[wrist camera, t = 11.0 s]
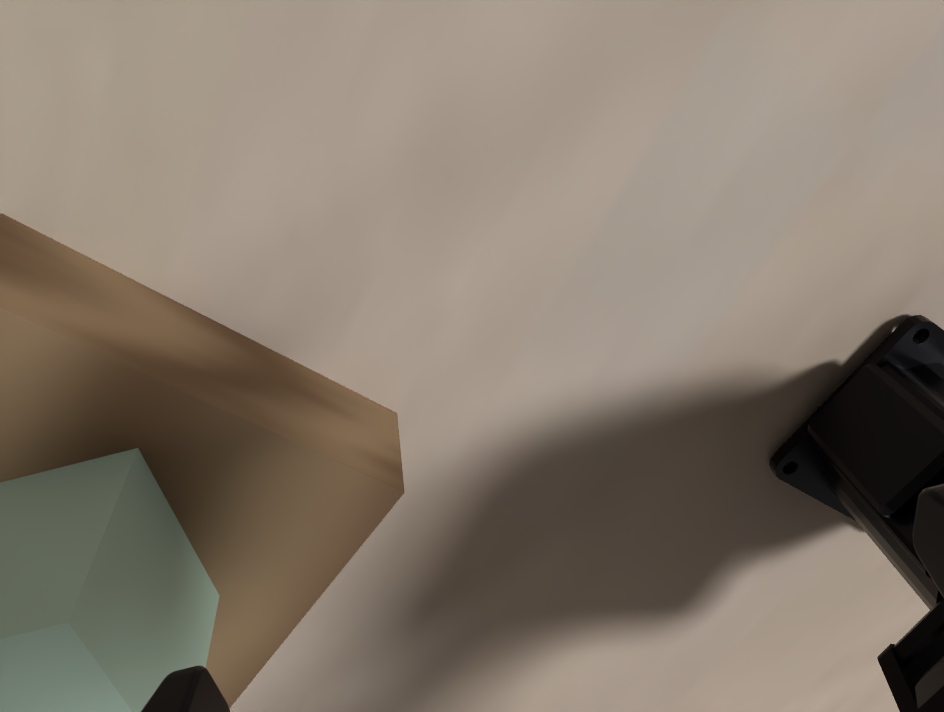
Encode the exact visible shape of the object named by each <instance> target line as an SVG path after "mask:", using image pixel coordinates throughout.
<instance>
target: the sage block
mask: <svg viewBox="0 0 944 712" xmlns="http://www.w3.org/2000/svg"><path fill="white" fill-rule="evenodd" d="M218 601H219V594H218V592H217V590H216V588H215V587H214V585H213V583H212V581H211V579H210V577H209V576H208V574H207V572H206V570H205V568H204V567H203V565H202V563H201V561H200V559H199V558H198V556H197V554H196V552H195V550H194V548H193V547H192V545H191V543H190V541H189V539H188V538H187V536H186V534H185V532H184V530H183V529H182V527H181V525H180V523H179V521H178V519H177V518H176V516H175V514H174V512H173V510H172V509H171V507H170V505H169V503H168V501H167V500H166V498H165V496H164V494H163V492H162V490H161V489H160V487H159V485H158V483H157V481H156V480H155V478H154V476H153V474H152V472H151V471H150V469H149V467H148V465H147V463H146V461H145V460H144V458H143V456H142V454H141V452H140V451H139V449H138V448H136V449H132V450H128V451H124V452H120V453H116V454H112V455H108V456H104V457H100V458H96V459H92V460H88V461H84V462H80V463H76V464H72V465H68V466H64V467H60V468H56V469H52V470H48V471H44V472H40V473H36V474H32V475H28V476H24V477H20V478H16V479H12V480H8V481H4V482H0V712H141V711H142V709H143V708H144V706H145V705H146V703H147V702H148V701H149V699H150V698H151V696H152V695H153V694H154V692H155V691H156V689H157V688H158V686H159V685H160V684H161V682H162V681H163V680H164V678H165V677H166V676H167V675H168V674H170V673H171V672H174V671H177V670H181V669H185V668H189V667H193V666H203V667H205V668H206V663H207V658H208V653H209V648H210V642H211V637H212V632H213V627H214V622H215V617H216V611H217V606H218Z"/></svg>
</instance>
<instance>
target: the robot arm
mask: <svg viewBox="0 0 944 712" xmlns="http://www.w3.org/2000/svg"><path fill="white" fill-rule="evenodd" d="M919 330H920V331H919ZM917 331H919V333H918V334H917V335H915V336H914V334H915V333H916V332H917ZM913 336H914V337H913ZM788 462H790V463H789V464H788V465H786V464H787V463H788ZM785 465H786V466H785ZM770 468H771V469H772V471H773V472H774V473H775V475H776V476H777V477H778V478H779V479H781V480H782V481H784V482H786V483H788V484H790V485H792V486H793V487H795V488H797V489H799V490H801V491H802V492H804V493H806V494H808V495H810V496H812V497H813V498H815V499H817V500H819V501H821V502H823V503H824V504H826V505H828V506H830V507H832V508H833V509H835V510H837V511H839V512H841V513H843V514H844V515H846V516H848V517H850V518H852V519H853V520H855V521H857V522H858V524H859V525H860V526H861V527H862V528H863V530H864V531H865V532H866V533H867V534H868V536H869V537H870V538H871V539H872V540H873V542H874V543H875V544H876V545H877V546H878V548H879V549H880V550H881V551H882V552H883V554H884V555H885V556H886V557H887V558H888V560H889V561H890V562H891V563H892V565H893V566H894V567H895V568H896V569H897V571H898V572H899V573H900V574H901V575H902V577H903V578H904V579H905V580H906V581H907V583H908V584H909V585H910V586H911V587H912V589H913V590H914V591H915V592H916V593H917V595H918V596H919V597H920V598H921V599H922V601H923V602H924V603H925V604H926V606H927V607H928V608H929V609H930V611H929V612H928V613H927V614H926V615H925V616H924V617H923V618H922V619H921V620H920V621H919V622H918V623H917V624H916V625H915V626H914V627H913V628H912V629H911V630H910V631H909V632H908V633H907V634H906V635H905V636H904V637H903V638H902V639H901V640H900V641H899V642H898V643H897V644H896V645H894V644H890V645H889V646H888V647H887V648H886V649H885V650H884V651H883V652H882V653H881V654H880V655H879V656H878V657H877V658H878V661H879V664H880V666H881V668H882V671H883V673H884V675H885V678H886V680H887V682H888V685H889V687H890V689H891V692H892V694H893V696H894V699H895V701H896V703H897V706H898V708H899V710H900V712H944V330H942V329H941V328H940V327H938V326H937V325H936V324H934V323H933V322H932V321H930V320H929V319H927V318H926V317H924V316H921V315H915V316H912V317H910V318H908V319H906V320H905V321H904V322H902V323H901V324H900V326H899V327H898V328H897V329H896V330H895V331H894V332H893V333H892V334H891V335H890V336H889V337H888V338H887V339H886V340H885V341H884V342H883V343H882V344H881V345H880V346H879V347H878V348H877V349H876V350H875V351H874V352H873V353H872V354H871V355H870V356H869V357H868V358H867V359H866V360H865V361H864V362H863V363H862V365H861V366H860V367H859V368H858V369H857V370H856V371H855V372H854V373H853V374H852V375H851V376H850V377H849V378H848V379H847V380H846V381H845V382H844V383H843V384H842V385H841V386H840V387H839V388H838V389H837V390H836V391H835V392H834V393H833V394H832V395H831V396H830V397H829V398H828V399H827V400H826V401H825V402H824V404H823V405H822V406H821V407H820V408H819V409H818V410H817V411H816V412H815V413H814V414H813V415H812V416H811V417H810V418H809V419H808V420H807V421H806V422H805V423H804V424H803V425H802V426H801V427H800V428H799V429H798V430H797V431H796V432H795V433H794V434H793V435H792V436H791V437H790V438H789V439H788V440H787V442H786V443H785V444H784V445H783V446H782V447H781V448H780V449H779V450H778V451H777V452H776V453H775V454H774V455H773V456H772V458H771V460H770ZM141 712H230V709H229V706H228V704H227V702H226V700H225V698H224V697H223V695H222V693H221V692H220V690H219V688H218V686H217V685H216V683H215V681H214V680H213V678H212V676H211V674H210V673H209V671H208V670H207V669H206V668H205V667H203V666H193V667H189V668H185V669H181V670H177V671H174V672H171V673H170V674H168V675H167V676H166V677H165V678H164V680H163V681H162V682H161V684H160V685H159V686H158V688H157V689H156V691H155V692H154V694H153V695H152V696H151V698H150V699H149V701H148V702H147V703H146V705H145V706H144V708H143V709H142V711H141Z"/></svg>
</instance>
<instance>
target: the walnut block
mask: <svg viewBox="0 0 944 712" xmlns="http://www.w3.org/2000/svg"><path fill="white" fill-rule="evenodd" d="M136 448H138V449H139V451H140V452H141V454H142V456H143V458H144V460H145V461H146V463H147V465H148V467H149V469H150V471H151V472H152V474H153V476H154V478H155V480H156V481H157V483H158V485H159V487H160V489H161V490H162V492H163V494H164V496H165V498H166V500H167V501H168V503H169V505H170V507H171V509H172V510H173V512H174V514H175V516H176V518H177V519H178V521H179V523H180V525H181V527H182V529H183V530H184V532H185V534H186V536H187V538H188V539H189V541H190V543H191V545H192V547H193V548H194V550H195V552H196V554H197V556H198V558H199V559H200V561H201V563H202V565H203V567H204V568H205V570H206V572H207V574H208V576H209V577H210V579H211V581H212V583H213V585H214V587H215V588H216V590H217V592H218V594H219V601H218V606H217V611H216V617H215V622H214V627H213V632H212V637H211V642H210V648H209V653H208V658H207V663H206V669H207V670H208V671H209V673H210V674H211V676H212V678H213V680H214V681H215V683H216V685H217V686H218V688H219V690H220V692H221V693H222V695H223V697H224V698H225V700H226V702H227V704H228V706H229V708H230V707H231V706H232V705H233V703H234V702H235V701H236V700H237V698H238V697H239V696H240V695H241V693H242V692H243V691H244V690H245V689H246V687H247V686H248V685H249V684H250V682H251V681H252V680H253V679H254V677H255V676H256V675H257V674H258V672H259V671H260V670H261V669H262V668H263V666H264V665H265V664H266V663H267V661H268V660H269V659H270V658H271V656H272V655H273V654H274V653H275V651H276V650H277V649H278V648H279V647H280V645H281V644H282V643H283V642H284V640H285V639H286V638H287V637H288V635H289V634H290V633H291V632H292V631H293V629H294V628H295V627H296V626H297V624H298V623H299V622H300V621H301V619H302V618H303V617H304V616H305V614H306V613H307V612H308V611H309V610H310V608H311V607H312V606H313V605H314V603H315V602H316V601H317V600H318V598H319V597H320V596H321V595H322V593H323V592H324V591H325V590H326V589H327V587H328V586H329V585H330V584H331V582H332V581H333V580H334V579H335V577H336V576H337V575H338V574H339V573H340V571H341V570H342V569H343V568H344V566H345V565H346V564H347V563H348V561H349V560H350V559H351V558H352V556H353V555H354V554H355V553H356V552H357V550H358V549H359V548H360V547H361V545H362V544H363V543H364V542H365V540H366V539H367V538H368V537H369V535H370V534H371V533H372V532H373V531H374V529H375V528H376V527H377V526H378V524H379V523H380V522H381V521H382V519H383V518H384V517H385V516H386V515H387V513H388V512H389V511H390V510H391V508H392V507H393V506H394V505H395V503H396V502H397V501H398V500H399V498H400V497H401V496H402V495H403V494H404V484H403V473H402V462H401V451H400V440H399V429H398V418H397V413H396V412H394V411H392V410H390V409H388V408H386V407H384V406H382V405H380V404H378V403H376V402H374V401H372V400H370V399H368V398H366V397H364V396H362V395H360V394H358V393H356V392H354V391H352V390H350V389H348V388H346V387H344V386H342V385H340V384H338V383H336V382H334V381H332V380H330V379H328V378H326V377H324V376H322V375H320V374H318V373H316V372H315V371H313V370H311V369H309V368H307V367H305V366H303V365H301V364H299V363H297V362H295V361H293V360H291V359H289V358H287V357H285V356H283V355H281V354H279V353H277V352H275V351H273V350H271V349H269V348H267V347H265V346H263V345H261V344H259V343H257V342H255V341H253V340H251V339H249V338H247V337H245V336H243V335H241V334H239V333H237V332H235V331H233V330H231V329H229V328H227V327H225V326H224V325H222V324H220V323H218V322H216V321H214V320H212V319H210V318H208V317H206V316H204V315H202V314H200V313H198V312H196V311H194V310H192V309H190V308H188V307H186V306H184V305H182V304H180V303H178V302H176V301H174V300H172V299H170V298H168V297H166V296H164V295H162V294H160V293H158V292H156V291H154V290H152V289H150V288H148V287H146V286H144V285H142V284H140V283H138V282H136V281H134V280H133V279H131V278H129V277H127V276H125V275H123V274H121V273H119V272H117V271H115V270H113V269H111V268H109V267H107V266H105V265H103V264H101V263H99V262H97V261H95V260H93V259H91V258H89V257H87V256H85V255H83V254H81V253H79V252H77V251H75V250H73V249H71V248H69V247H67V246H65V245H63V244H61V243H59V242H57V241H55V240H53V239H51V238H49V237H47V236H45V235H43V234H42V233H40V232H38V231H36V230H34V229H32V228H30V227H28V226H26V225H24V224H22V223H20V222H18V221H16V220H14V219H12V218H10V217H8V216H6V215H4V214H1V215H0V482H4V481H8V480H12V479H16V478H20V477H24V476H28V475H32V474H36V473H40V472H44V471H48V470H52V469H56V468H60V467H64V466H68V465H72V464H76V463H80V462H84V461H88V460H92V459H96V458H100V457H104V456H108V455H112V454H116V453H120V452H124V451H128V450H132V449H136Z"/></svg>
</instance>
